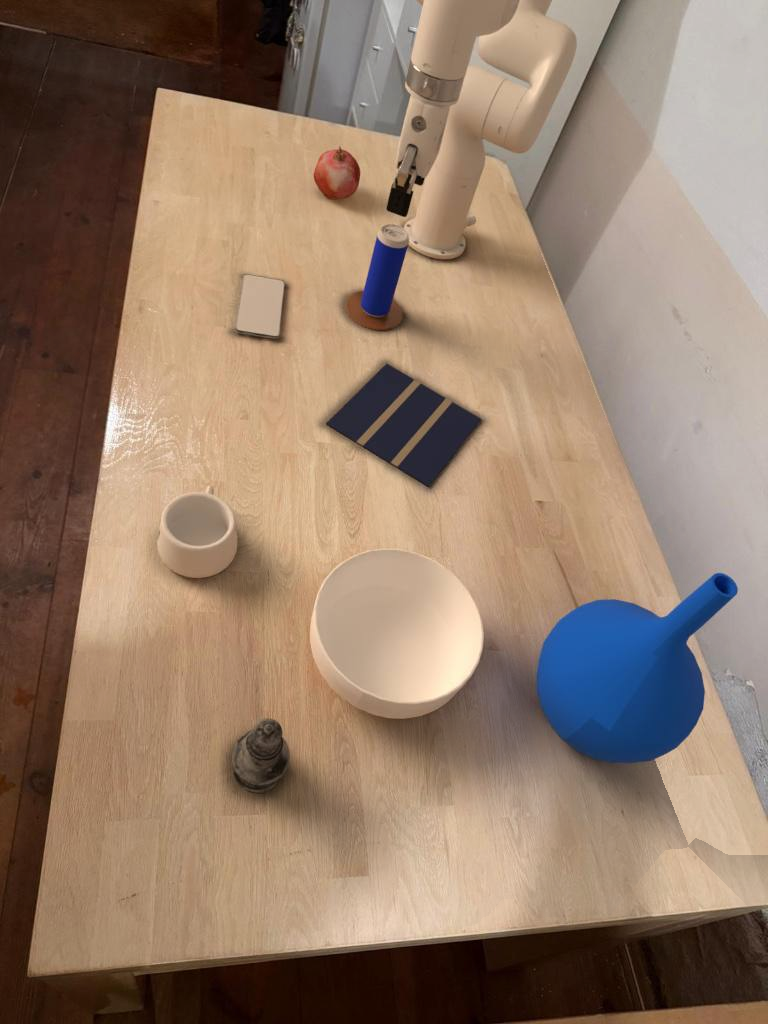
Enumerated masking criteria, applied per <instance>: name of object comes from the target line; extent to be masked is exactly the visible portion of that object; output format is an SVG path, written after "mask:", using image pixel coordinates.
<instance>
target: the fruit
mask: <svg viewBox="0 0 768 1024" xmlns="http://www.w3.org/2000/svg"><path fill="white" fill-rule="evenodd" d="M313 180H314V183H315V185H316V186H317V188H318V190H319V192H321V194H322V195H323V196H324V197H325V198H327V199H331V200H343V199H347V198H348V199H349V198H350V197H351V196H353V195H354V194H355V193H356V192H357V190H358V188H359V184H360V181H361V168H360V165H359V163H358V161H357V159H356V158H355V157H354V156H353V154H351V153H350V152H349V151H347V150H345V149H342V148H341V145H339V148H338V149H330V150H327V151H325V152H322V154H321V155H320V156H319V157H318V161H317V163H316V166H315V168H314V171H313Z"/></svg>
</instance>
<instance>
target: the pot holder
mask: <svg viewBox="0 0 768 1024" xmlns="http://www.w3.org/2000/svg"><path fill="white" fill-rule="evenodd" d="M481 421H482V418H481V417H479V416H477V415H476V414H474V413H472V412H471V411H469V410H467V409H465V408H464V407H462V406H460V405H458V404H457V403H455V402H453V401H452V400H450V399H449V398H446V397H445V396H444V395H441V394H440V393H438V392H436V391H435V390H433V389H431V388H429V387H428V386H426V385H424V384H423V383H422V382H420V381H418V380H417V379H414V378H412V377H411V376H409V375H408V374H406V373H404V372H402V371H401V370H399V369H398V368H396V367H394V366H392V365H391V364H389V363H385V365H384V366H383V367H381V368H380V369H379V371H377V372H376V373H375V374H374V375H373V376H372V377H371V378H370V379H369V380H368V381H367V382H366V383H365V384H364V385H363V386H362V387H361V388H360V389H359V390H358V391H357V392H356V393H355V394H354V395H353V396H352V397H351V398H350V399H349V400H348V401H347V402H346V403H345V404H344V405H343V406H342V407H341V408H340V409H339V410H338V411H337V412H336V413H335V414H334V415H333V416H332V417H331V418H330V419H329V420H328V421H327V422H326V423H325V425H326V426H328V427H329V428H331V429H332V430H334V431H336V432H338V433H339V434H341V435H343V436H344V437H346V438H348V439H349V440H351V441H352V442H354V443H355V444H357V445H359V446H360V447H362V448H363V449H365V450H367V451H368V452H370V453H372V454H374V455H375V456H377V457H379V458H380V459H382V460H383V461H385V462H387V463H388V464H390V465H392V466H393V467H395V468H397V469H398V470H400V471H401V472H403V473H404V474H406V475H408V476H410V477H411V478H413V480H416V481H418V482H419V483H421V484H422V485H424V486H426V487H428V488H429V487H430V486H431V484H432V483H433V482H434V480H435V479H436V478H437V477H438V475H439V474H440V473H441V472H442V470H443V469H444V468H445V467H446V465H447V464H448V462H449V461H450V460H451V459H452V458H453V456H455V454H456V453H457V451H458V450H459V449H460V447H461V446H462V445H463V444H464V442H465V441H466V440H467V438H468V437H469V436H470V435H471V433H472V432H473V431H474V430H475V428H477V426H478V424H479V423H480V422H481Z"/></svg>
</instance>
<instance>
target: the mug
mask: <svg viewBox="0 0 768 1024" xmlns="http://www.w3.org/2000/svg"><path fill="white" fill-rule="evenodd" d="M214 491H215V489H214V487H213V486H212V485H208V486H207V487H206V489H205V492H203V491H194V492H186V493H183V494H181V495H178V496H177V497H175V498H173V499H172V500H171V501H170V502H169V503H168V504H167V505H166V506H165V508H164V509H163V511H162V513H161V518H160V524H159V528H158V534H157V542H156V545H157V551H158V556H159V557H160V559H161V561H162V563H163V564H164V565H165V566H166V568H168V569H169V570H170V571H172V572H174V573H175V574H177V575H180V576H182V577H185V578H193V579H202V578H208V577H209V578H210V577H212V576H215V575H217V574H220V573H221V572H222V571H225V569H227V568H228V567H229V566H230V564H231V563H232V562H233V561H234V559H235V557H236V554H237V551H238V541H239V540H238V530H237V520H236V516H235V513H234V511H233V509H232V507H231V505H230V504H229V503H228V502H226V501H225V500H224V499H223V498H221V497H219V496H217V495H215V493H214Z"/></svg>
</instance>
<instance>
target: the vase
mask: <svg viewBox="0 0 768 1024" xmlns="http://www.w3.org/2000/svg"><path fill="white" fill-rule="evenodd" d="M738 590H739V588H738V585H737V583H736V582H735V581H734V579H733V578H732V577H731V576H729V575H728V574H726V573H723V572H716V573H713V574H712V575H711V576H710V577H709V578H707V580H706V581H704V582H703V583H702V584H701V585H700V586H698V587H697V588H696V589H695V590H693V592H691V593H690V594H689V595H688V596H687V597H686V598H685V599H683V600H682V601H681V602H679V604H677V605H676V606H675V608H673V609H672V610H671V611H670V612H669V613H668V614H667V615H664V616H662V617H660V616H659V615H657V614H655V613H654V612H653V611H652V610H650V609H647V608H645V607H643V606H640V605H639V604H636V603H634V602H629V601H624V600H621V599H616V598H615V599H614V598H613V599H612V598H611V599H610V598H609V599H596V600H594V601H590V602H587V603H584V604H581V605H580V606H578V607H576V608H574V609H573V610H571V611H570V612H568V613H567V614H565V615H564V616H563V617H562V618H560V619H559V620H558V621H557V622H556V623H555V625H554V626H553V627H552V629H551V630H550V632H549V634H548V635H547V636H546V637H545V639H544V640H543V643H542V646H541V650H540V654H539V658H538V664H537V669H536V692H537V696H538V700H539V703H540V704H539V705H540V707H541V710H542V711H543V713H544V715H545V717H546V719H547V721H548V723H549V725H550V726H551V728H552V729H553V730H554V731H555V733H556V734H557V735H558V736H559V737H560V738H561V740H563V741H564V742H565V743H566V744H568V745H569V746H571V747H572V748H573V749H575V750H576V751H577V752H579V753H581V754H583V755H585V756H587V757H590V758H592V759H594V760H596V761H600V762H606V763H612V764H634V763H635V764H636V763H644V762H653V760H656V759H658V758H661V757H662V756H665V755H667V754H669V753H670V752H672V751H674V750H675V749H677V748H678V747H679V746H680V745H681V744H682V743H683V742H684V741H685V740H686V739H687V738H688V737H689V736H690V734H691V733H693V732H692V731H693V730H694V729H695V727H696V726H697V724H698V722H699V720H700V717H701V715H702V713H703V711H704V706H705V695H706V690H705V684H704V679H703V673H702V671H701V667H700V665H699V663H698V661H697V658H696V656H695V653H694V652H693V651H692V650H691V647H689V645H688V640H689V639H690V638H691V637H692V636H693V635H694V634H695V633H696V632H697V631H699V630H700V629H701V628H702V627H703V626H704V625H706V623H708V622H709V621H710V620H711V619H712V618H713V617H714V616H715V615H716V614H717V613H718V612H720V610H721V609H723V608H724V607H725V606H726V605H727V604H728V603H729V602H730V601H731V600H732V599H734V597H736V596H737V595H738Z"/></svg>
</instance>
